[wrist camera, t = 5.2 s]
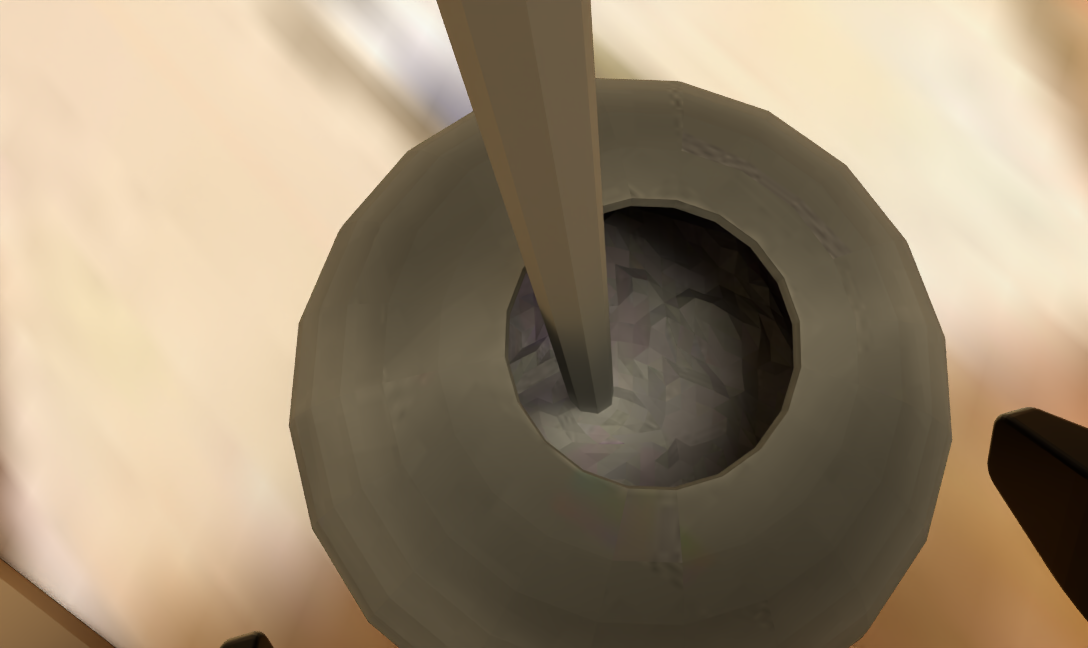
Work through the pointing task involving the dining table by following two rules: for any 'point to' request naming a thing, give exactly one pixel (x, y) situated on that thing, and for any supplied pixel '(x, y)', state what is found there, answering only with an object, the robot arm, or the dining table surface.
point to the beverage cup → (616, 369)
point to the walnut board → (38, 618)
